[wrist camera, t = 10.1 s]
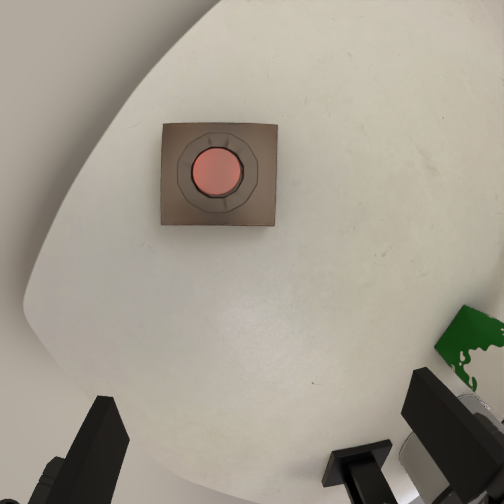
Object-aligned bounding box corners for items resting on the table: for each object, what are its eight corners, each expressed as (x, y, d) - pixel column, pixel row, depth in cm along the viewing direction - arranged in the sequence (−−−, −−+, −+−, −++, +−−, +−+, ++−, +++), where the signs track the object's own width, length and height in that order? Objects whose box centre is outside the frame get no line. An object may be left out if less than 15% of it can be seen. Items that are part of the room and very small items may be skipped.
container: (397, 429, 37) (439, 494, 22) (485, 375, 37) (535, 420, 22) (397, 479, 41) (424, 530, 26) (471, 434, 41) (505, 475, 26)
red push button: (194, 194, 24) (192, 195, 22) (195, 150, 23) (193, 147, 21) (239, 194, 24) (239, 195, 22) (240, 150, 23) (241, 148, 22)
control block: (165, 222, 28) (155, 228, 24) (167, 128, 26) (158, 119, 22) (271, 223, 29) (278, 229, 25) (274, 129, 27) (281, 120, 23)
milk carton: (426, 349, 34) (519, 439, 14) (464, 294, 32) (573, 359, 13) (452, 370, 35) (531, 446, 16) (487, 321, 34) (576, 381, 14)
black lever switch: (321, 481, 38) (341, 543, 25) (331, 451, 36) (358, 521, 23) (374, 470, 39) (401, 525, 26) (389, 439, 37) (424, 498, 24)
